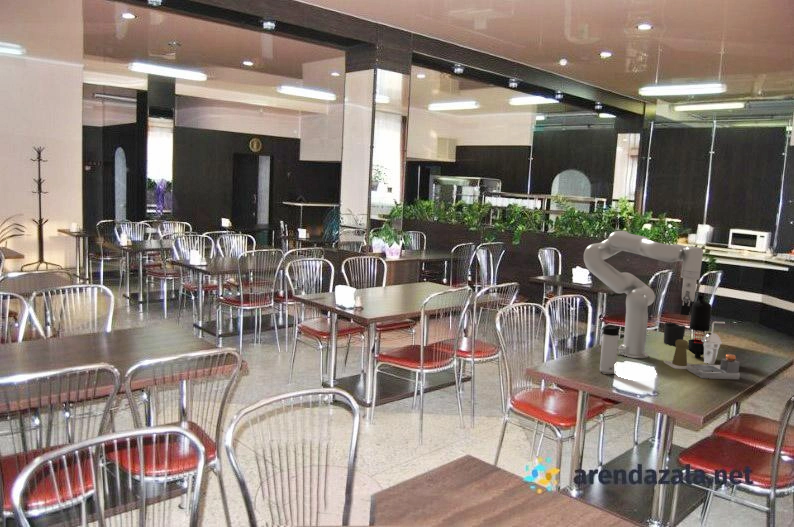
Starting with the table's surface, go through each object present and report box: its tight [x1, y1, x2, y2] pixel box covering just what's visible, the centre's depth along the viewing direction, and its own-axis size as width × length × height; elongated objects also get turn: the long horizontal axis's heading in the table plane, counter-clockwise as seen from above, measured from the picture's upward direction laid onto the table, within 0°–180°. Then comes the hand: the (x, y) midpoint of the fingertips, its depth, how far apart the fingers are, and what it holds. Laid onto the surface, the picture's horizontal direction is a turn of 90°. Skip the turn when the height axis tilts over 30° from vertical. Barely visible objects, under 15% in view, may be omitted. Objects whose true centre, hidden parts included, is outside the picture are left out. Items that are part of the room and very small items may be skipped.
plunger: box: [725, 353, 737, 361], centre depth 253 cm, size 4×4×6 cm
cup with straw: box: [700, 321, 726, 365], centre depth 273 cm, size 8×9×20 cm
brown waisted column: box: [672, 339, 689, 366], centre depth 268 cm, size 6×6×11 cm
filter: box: [687, 295, 712, 359], centre depth 283 cm, size 14×9×30 cm
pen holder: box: [663, 322, 686, 347], centre depth 308 cm, size 9×9×10 cm
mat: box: [663, 360, 690, 370], centre depth 268 cm, size 10×10×1 cm
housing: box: [686, 358, 741, 380], centre depth 256 cm, size 16×12×7 cm
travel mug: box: [599, 325, 621, 375], centre depth 251 cm, size 6×7×20 cm
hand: (685, 312), depth 268 cm, fingers open, 9 cm apart
